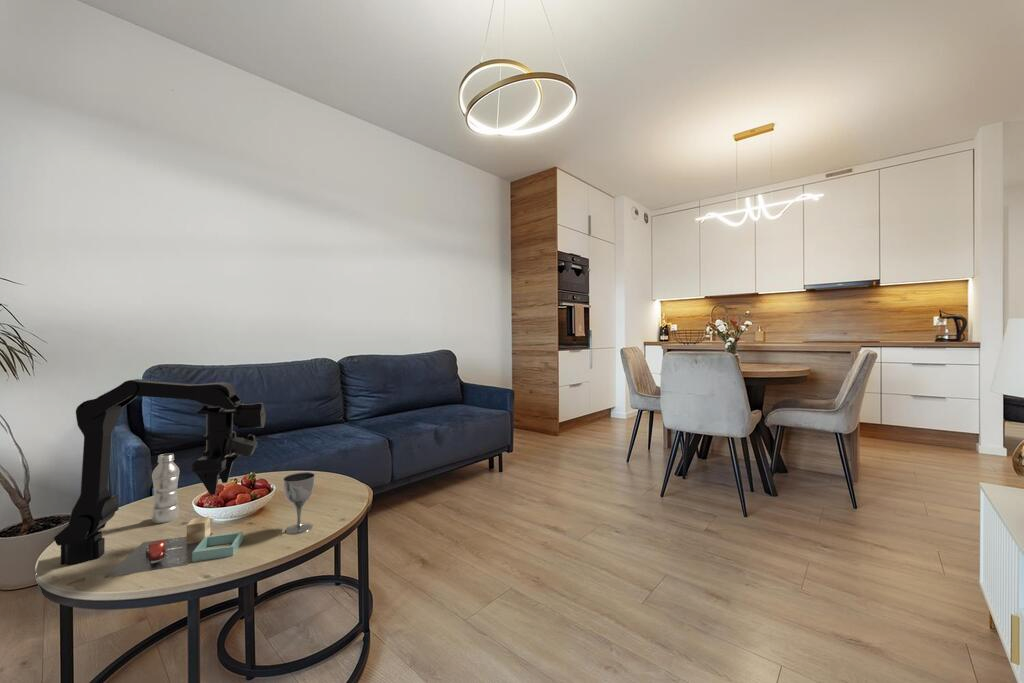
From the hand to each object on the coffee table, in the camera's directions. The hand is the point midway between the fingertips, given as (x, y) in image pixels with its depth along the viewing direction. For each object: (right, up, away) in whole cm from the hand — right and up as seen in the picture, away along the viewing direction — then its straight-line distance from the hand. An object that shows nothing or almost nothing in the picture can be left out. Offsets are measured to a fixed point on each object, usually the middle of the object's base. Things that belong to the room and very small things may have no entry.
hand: (219, 488), depth 108 cm
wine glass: (+17, -15, +8) cm, 24 cm away
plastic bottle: (-25, -15, +12) cm, 31 cm away
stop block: (-6, -14, 0) cm, 15 cm away
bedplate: (-9, -15, -7) cm, 18 cm away
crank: (-9, -13, -9) cm, 19 cm away
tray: (+4, -15, -5) cm, 16 cm away
